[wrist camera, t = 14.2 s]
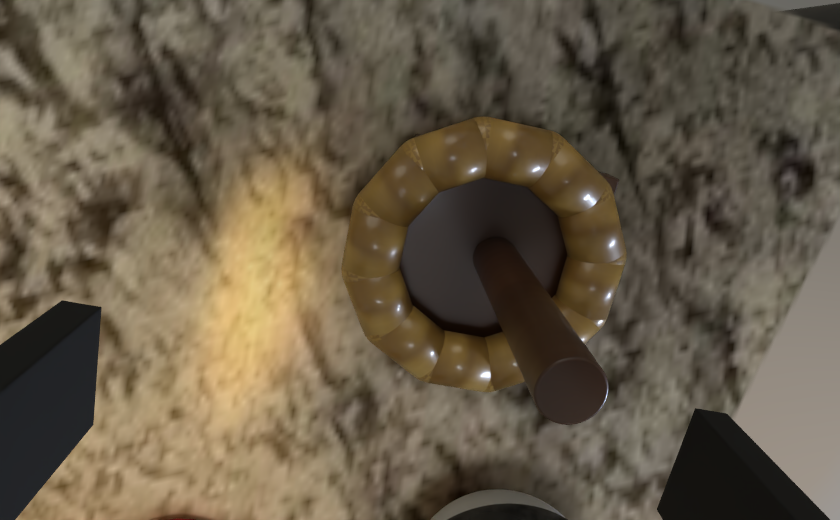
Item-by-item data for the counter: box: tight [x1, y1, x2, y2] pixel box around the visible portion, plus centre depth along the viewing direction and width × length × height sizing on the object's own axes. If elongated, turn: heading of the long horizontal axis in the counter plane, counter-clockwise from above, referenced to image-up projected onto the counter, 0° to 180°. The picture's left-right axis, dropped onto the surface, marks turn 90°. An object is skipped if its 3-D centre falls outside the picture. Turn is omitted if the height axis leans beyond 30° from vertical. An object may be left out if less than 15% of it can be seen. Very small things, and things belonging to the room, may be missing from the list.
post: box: [399, 134, 619, 425], centre depth 23 cm, size 9×9×14 cm
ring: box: [342, 116, 627, 392], centre depth 27 cm, size 12×12×2 cm
